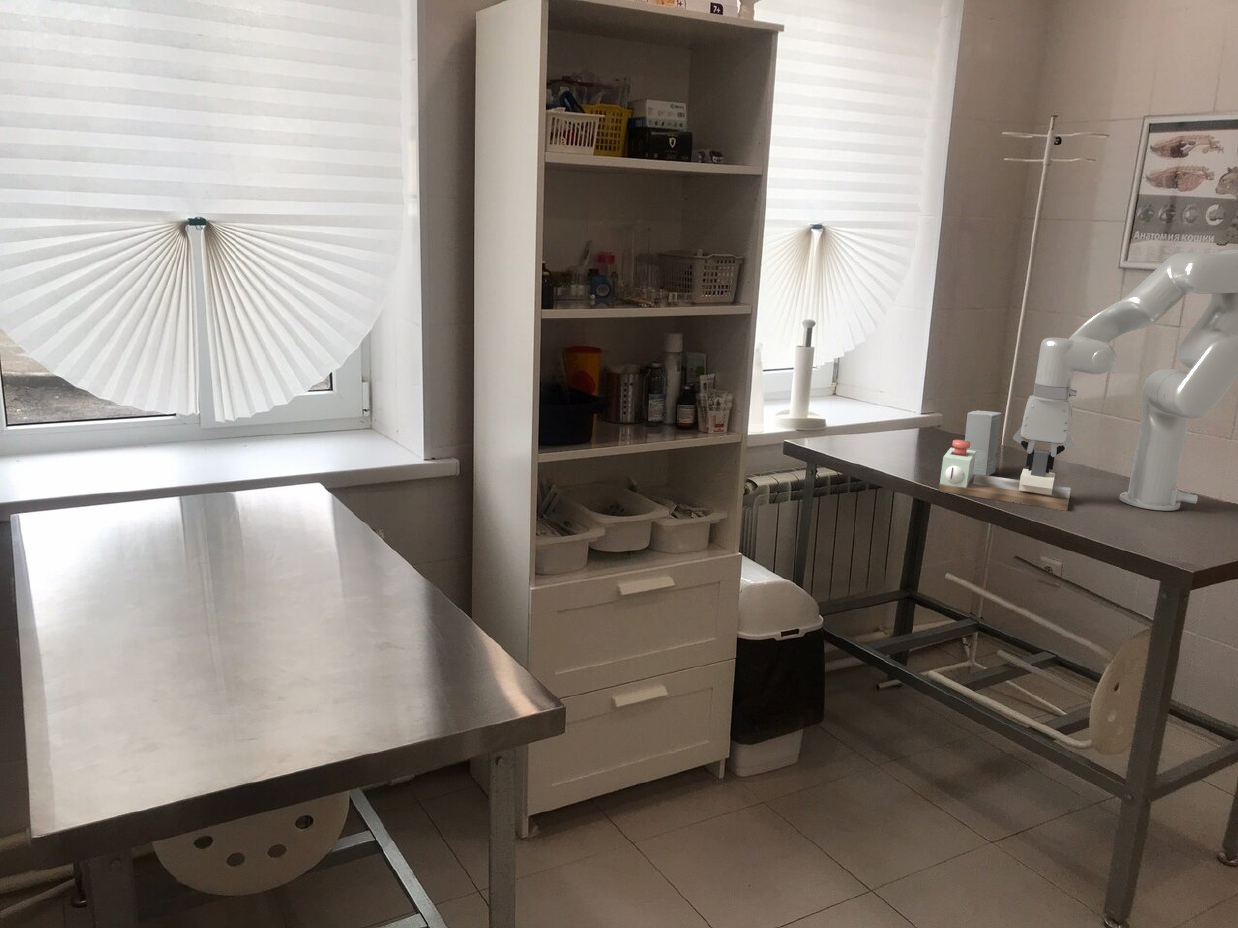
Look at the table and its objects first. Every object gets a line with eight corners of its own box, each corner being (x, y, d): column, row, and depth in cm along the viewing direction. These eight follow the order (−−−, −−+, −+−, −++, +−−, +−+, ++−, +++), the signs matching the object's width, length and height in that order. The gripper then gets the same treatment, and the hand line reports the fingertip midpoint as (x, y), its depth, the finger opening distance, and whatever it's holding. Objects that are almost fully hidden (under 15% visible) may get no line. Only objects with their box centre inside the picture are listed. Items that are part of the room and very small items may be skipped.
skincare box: (986, 478, 247) (995, 416, 244) (957, 473, 252) (966, 411, 248) (996, 472, 254) (1005, 412, 250) (968, 467, 258) (977, 407, 254)
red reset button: (969, 454, 237) (971, 441, 236) (967, 457, 234) (969, 444, 233) (952, 451, 239) (954, 439, 238) (950, 455, 235) (951, 442, 235)
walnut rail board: (1069, 496, 234) (1071, 482, 233) (1067, 510, 222) (1069, 495, 221) (946, 478, 246) (948, 464, 245) (938, 490, 233) (940, 476, 232)
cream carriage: (1052, 488, 233) (1059, 449, 230) (1051, 496, 226) (1057, 456, 223) (1020, 484, 235) (1026, 445, 233) (1018, 491, 228) (1024, 452, 226)
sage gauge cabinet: (972, 476, 242) (976, 451, 240) (965, 488, 231) (969, 461, 229) (947, 473, 244) (950, 447, 243) (939, 484, 233) (943, 457, 232)
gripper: (1090, 394, 225) (1077, 473, 229) (1014, 386, 231) (1002, 462, 236) (1090, 399, 218) (1076, 480, 223) (1011, 390, 225) (999, 468, 229)
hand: (1038, 470), depth 229 cm, fingers closed on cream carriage, 3 cm apart
